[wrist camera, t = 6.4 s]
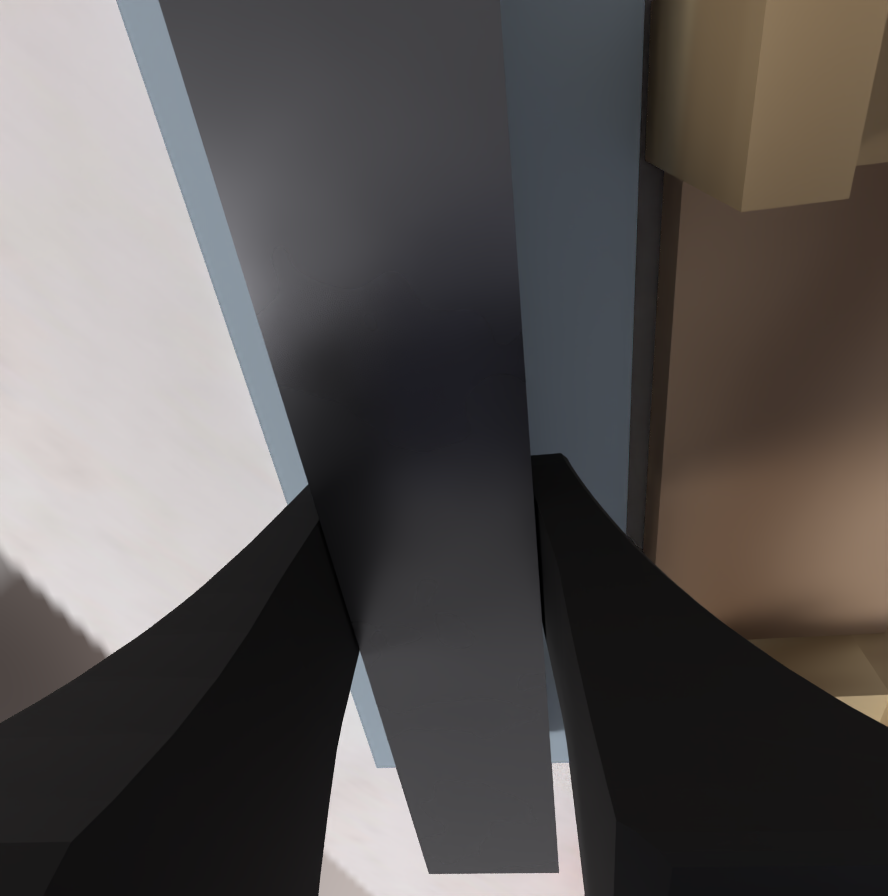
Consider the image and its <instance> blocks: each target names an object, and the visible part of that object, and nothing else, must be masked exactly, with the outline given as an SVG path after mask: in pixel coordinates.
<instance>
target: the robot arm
mask: <svg viewBox="0 0 888 896" xmlns="http://www.w3.org/2000/svg"><path fill="white" fill-rule="evenodd" d="M531 467H532V481H533V496H534V511H535V526H536V541H537V555H538V570H539V585H540V600H541V614H542V624H543V629H544V634H545V638H546V643H547V648H548V652H549V657H550V662H551V666H552V671H553V676H554V680H555V685H556V690H557V694H558V699H559V704H560V708H561V713H562V718H563V724H564V730H565V736H566V742H567V749H568V758H569V766H570V774H571V782H572V790H573V799H574V807H575V815H576V824H577V832H578V840H579V849H580V857H581V866H582V874H583V883H584V891H585V896H888V727H887V726H885V725H884V724H882V723H880V722H878V721H876V720H874V719H873V718H871V717H869V716H867V715H865V714H863V713H862V712H860V711H858V710H856V709H854V708H852V707H851V706H849V705H847V704H846V703H844V702H842V701H841V700H839V699H837V698H836V697H834V696H832V695H831V694H829V693H827V692H826V691H824V690H823V689H821V688H819V687H818V686H816V685H815V684H813V683H811V682H810V681H808V680H806V679H805V678H803V677H802V676H800V675H798V674H797V673H795V672H793V671H792V670H790V669H789V668H787V667H786V666H784V665H783V664H781V663H780V662H778V661H777V660H775V659H774V658H773V657H771V656H770V655H768V654H767V653H765V652H764V651H763V650H761V649H760V648H758V647H757V646H755V645H754V644H753V643H751V642H750V641H748V640H747V639H745V638H744V637H743V636H741V635H740V634H738V633H737V632H736V631H734V630H733V629H731V628H730V627H728V626H727V625H726V624H724V623H723V622H722V621H721V620H719V619H718V618H717V617H716V616H714V615H713V614H712V613H711V612H709V611H708V610H707V609H705V608H704V607H703V606H702V605H700V604H699V603H698V602H697V601H696V600H694V599H693V598H692V597H691V596H690V595H689V594H687V593H686V592H685V591H684V590H683V589H682V588H680V587H679V586H678V585H677V584H676V583H675V582H674V581H672V580H671V579H670V578H669V577H668V576H667V575H666V574H665V573H664V572H663V571H662V570H661V569H659V568H658V567H657V566H656V565H655V564H654V563H653V562H652V561H651V560H650V559H649V558H648V557H647V556H646V555H645V554H644V553H643V552H642V551H641V550H640V549H639V548H638V547H637V546H636V545H635V544H634V543H633V542H632V541H631V539H630V538H629V537H628V536H627V535H626V534H625V533H624V532H623V531H622V530H621V529H620V527H619V526H618V525H617V524H616V523H615V522H614V520H613V519H612V518H611V517H610V516H609V515H608V513H607V512H606V511H605V510H604V509H603V508H602V506H601V505H600V504H599V503H598V501H597V500H596V499H595V498H594V496H593V495H592V494H591V492H590V491H589V490H588V488H587V487H586V486H585V484H584V483H583V482H582V480H581V479H580V477H579V476H578V475H577V473H576V472H575V470H574V468H573V467H572V465H571V464H570V462H569V460H568V458H567V457H565V456H564V455H563V454H562V453H554V454H542V455H531ZM359 652H360V649H359V646H358V643H357V640H356V637H355V633H354V630H353V627H352V624H351V620H350V617H349V614H348V611H347V607H346V604H345V601H344V598H343V595H342V591H341V588H340V585H339V582H338V578H337V575H336V572H335V569H334V566H333V562H332V559H331V556H330V553H329V549H328V546H327V543H326V540H325V536H324V533H323V530H322V527H321V524H320V520H319V517H318V514H317V511H316V507H315V504H314V501H313V498H312V495H311V491H310V488H309V485H307V486H306V487H305V488H304V489H303V490H302V491H301V492H300V493H299V494H298V495H297V496H296V497H295V498H294V499H293V500H292V501H291V502H290V503H289V504H288V505H287V506H286V507H285V508H284V509H283V511H282V512H281V513H280V514H279V515H278V516H277V517H276V518H275V519H274V520H273V521H272V522H271V523H270V524H269V525H268V526H267V527H266V528H265V529H264V530H263V531H262V532H261V533H260V534H259V535H258V536H257V537H256V538H255V539H254V540H253V541H252V542H251V543H249V544H248V545H247V546H246V547H245V548H244V549H243V550H242V551H241V552H240V553H239V554H238V555H236V556H235V557H234V558H233V559H232V560H231V561H230V562H229V563H228V564H227V565H225V566H224V567H223V568H222V569H221V570H220V571H219V572H218V573H217V574H216V575H214V576H213V577H212V578H211V579H210V580H209V581H208V582H207V583H206V584H204V585H203V586H202V587H201V588H200V589H199V590H197V591H196V592H195V593H194V594H193V595H191V596H190V597H189V598H188V599H186V600H185V601H184V602H183V603H182V604H180V605H179V606H178V607H177V608H175V609H174V610H173V611H171V612H170V613H169V614H167V615H166V616H165V617H163V618H162V619H161V620H160V621H158V622H157V623H156V624H154V625H153V626H152V627H150V628H149V629H148V630H146V631H145V632H144V633H142V634H141V635H139V636H138V637H137V638H135V639H134V640H132V641H131V642H129V643H128V644H126V645H125V646H123V647H122V648H120V649H119V650H117V651H116V652H114V653H113V654H111V655H110V656H108V657H107V658H106V659H104V660H103V661H101V662H100V663H98V664H97V665H95V666H94V667H92V668H91V669H89V670H88V671H87V672H85V673H83V674H82V675H80V676H79V677H77V678H76V679H74V680H72V681H71V682H69V683H68V684H66V685H65V686H63V687H61V688H60V689H58V690H56V691H54V692H53V693H51V694H50V695H48V696H46V697H45V698H43V699H41V700H40V701H38V702H36V703H35V704H33V705H31V706H29V707H28V708H26V709H24V710H22V711H21V712H19V713H17V714H15V715H14V716H12V717H10V718H9V719H7V720H5V721H3V722H2V723H0V896H318V893H319V883H320V874H321V865H322V857H323V849H324V841H325V833H326V825H327V817H328V809H329V802H330V794H331V787H332V780H333V773H334V766H335V759H336V752H337V746H338V741H339V736H340V731H341V726H342V722H343V717H344V713H345V709H346V705H347V701H348V697H349V693H350V689H351V685H352V681H353V676H354V672H355V668H356V664H357V660H358V656H359Z"/></svg>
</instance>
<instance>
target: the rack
mask: <svg viewBox="0 0 888 896" xmlns="http://www.w3.org/2000/svg"><path fill="white" fill-rule="evenodd" d="M645 161H647V162H649V163H650V164H652V165H654V166H656V167H658V168H660V169H662V170H663V171H664V183H663V201H662V219H661V237H660V255H659V273H658V291H657V309H656V327H655V345H654V363H653V382H652V400H651V418H650V436H649V454H648V472H647V490H646V508H645V526H644V544H643V553H644V554H645V555H646V556H647V557H648V558H649V559H650V560H651V561H652V562H653V563H654V564H655V565H656V566H657V567H658V568H659V569H661V570H662V571H663V572H664V573H665V574H666V575H667V576H668V577H669V578H670V579H671V580H672V581H674V582H675V583H676V584H677V585H678V586H679V587H680V588H682V589H683V590H684V591H685V592H686V593H687V594H689V595H690V596H691V597H692V598H693V599H694V600H696V601H697V602H698V603H699V604H700V605H702V606H703V607H704V608H705V609H707V610H708V611H709V612H711V613H712V614H713V615H714V616H716V617H717V618H718V619H719V620H721V621H722V622H723V623H724V624H726V625H727V626H728V627H730V628H731V629H733V630H734V631H736V632H737V633H738V634H740V635H741V636H743V637H744V638H745V639H747V640H748V641H750V642H751V643H753V644H754V645H755V646H757V647H758V648H760V649H761V650H763V651H764V652H765V653H767V654H768V655H770V656H771V657H773V658H774V659H775V660H777V661H778V662H780V663H781V664H783V665H784V666H786V667H787V668H789V669H790V670H792V671H793V672H795V673H797V674H798V675H800V676H802V677H803V678H805V679H806V680H808V681H810V682H811V683H813V684H815V685H816V686H818V687H819V688H821V689H823V690H824V691H826V692H827V693H829V694H831V695H832V696H834V697H836V698H837V699H839V700H841V701H842V702H844V703H846V704H847V705H849V706H851V707H852V708H854V709H856V710H858V711H860V712H862V713H863V714H865V715H867V716H869V717H871V718H873V719H874V720H876V721H878V722H880V723H882V724H884V725H885V726H887V727H888V0H653V1H651V20H650V45H649V70H648V96H647V121H646V146H645Z"/></svg>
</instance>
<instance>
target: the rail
mask: <svg viewBox="0 0 888 896" xmlns="http://www.w3.org/2000/svg"><path fill="white" fill-rule="evenodd" d="M158 1H159V4H160V7H161V10H162V14H163V17H164V20H165V23H166V26H167V30H168V33H169V36H170V39H171V43H172V46H173V49H174V52H175V56H176V59H177V62H178V65H179V68H180V72H181V75H182V78H183V81H184V85H185V88H186V91H187V94H188V98H189V101H190V104H191V107H192V110H193V114H194V117H195V120H196V123H197V127H198V130H199V133H200V136H201V139H202V143H203V146H204V149H205V152H206V156H207V159H208V162H209V165H210V169H211V172H212V175H213V178H214V181H215V185H216V188H217V191H218V194H219V198H220V201H221V204H222V207H223V210H224V214H225V217H226V220H227V223H228V227H229V230H230V233H231V236H232V240H233V243H234V246H235V249H236V252H237V256H238V259H239V262H240V265H241V269H242V272H243V275H244V278H245V281H246V285H247V288H248V291H249V294H250V298H251V301H252V304H253V307H254V311H255V314H256V317H257V320H258V323H259V327H260V330H261V333H262V336H263V340H264V343H265V346H266V349H267V352H268V356H269V359H270V362H271V365H272V369H273V372H274V375H275V378H276V382H277V385H278V388H279V391H280V394H281V398H282V401H283V404H284V407H285V411H286V414H287V417H288V420H289V424H290V427H291V430H292V433H293V436H294V440H295V443H296V446H297V449H298V453H299V456H300V459H301V462H302V465H303V469H304V472H305V475H306V478H307V482H308V485H309V488H310V491H311V495H312V498H313V501H314V504H315V507H316V511H317V514H318V517H319V520H320V524H321V527H322V530H323V533H324V536H325V540H326V543H327V546H328V549H329V553H330V556H331V559H332V562H333V566H334V569H335V572H336V575H337V578H338V582H339V585H340V588H341V591H342V595H343V598H344V601H345V604H346V607H347V611H348V614H349V617H350V620H351V624H352V627H353V630H354V633H355V637H356V640H357V643H358V646H359V649H360V653H361V656H362V659H363V662H364V666H365V669H366V672H367V675H368V678H369V682H370V685H371V688H372V691H373V695H374V698H375V701H376V704H377V708H378V711H379V714H380V717H381V720H382V724H383V727H384V730H385V733H386V737H387V740H388V743H389V746H390V750H391V753H392V756H393V759H394V762H395V766H396V769H397V772H398V775H399V779H400V782H401V785H402V788H403V791H404V795H405V798H406V801H407V804H408V808H409V811H410V814H411V817H412V821H413V824H414V827H415V830H416V833H417V837H418V840H419V843H420V846H421V850H422V853H423V856H424V859H425V862H426V866H427V869H428V872H429V874H472V873H559V866H558V851H557V836H556V821H555V807H554V792H553V777H552V762H551V747H550V733H549V718H548V703H547V688H546V674H545V659H544V644H543V629H542V614H541V600H540V585H539V570H538V555H537V541H536V526H535V511H534V496H533V481H532V467H531V452H530V437H529V422H528V408H527V393H526V378H525V363H524V349H523V334H522V319H521V304H520V289H519V275H518V260H517V245H516V230H515V216H514V201H513V186H512V171H511V156H510V142H509V127H508V112H507V97H506V83H505V68H504V53H503V38H502V23H501V9H500V0H158Z"/></svg>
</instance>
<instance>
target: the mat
mask: <svg viewBox="0 0 888 896" xmlns="http://www.w3.org/2000/svg"><path fill="white" fill-rule="evenodd" d="M116 1H117V4H118V7H119V10H120V13H121V16H122V19H123V22H124V25H125V28H126V31H127V34H128V37H129V40H130V42H131V45H132V48H133V51H134V54H135V57H136V60H137V63H138V66H139V69H140V72H141V75H142V78H143V81H144V84H145V87H146V90H147V93H148V95H149V98H150V101H151V104H152V107H153V110H154V113H155V116H156V119H157V122H158V125H159V128H160V131H161V134H162V137H163V140H164V143H165V146H166V148H167V151H168V154H169V157H170V160H171V163H172V166H173V169H174V172H175V175H176V178H177V181H178V184H179V187H180V190H181V193H182V196H183V199H184V201H185V204H186V207H187V210H188V213H189V216H190V219H191V222H192V225H193V228H194V231H195V234H196V237H197V240H198V243H199V246H200V249H201V252H202V254H203V257H204V260H205V263H206V266H207V269H208V272H209V275H210V278H211V281H212V284H213V287H214V290H215V293H216V296H217V299H218V302H219V305H220V307H221V310H222V313H223V316H224V319H225V322H226V325H227V328H228V331H229V334H230V337H231V340H232V343H233V346H234V349H235V352H236V355H237V358H238V360H239V363H240V366H241V369H242V372H243V375H244V378H245V381H246V384H247V387H248V390H249V393H250V396H251V399H252V402H253V405H254V408H255V411H256V414H257V416H258V419H259V422H260V425H261V428H262V431H263V434H264V437H265V440H266V443H267V446H268V449H269V452H270V455H271V458H272V461H273V464H274V467H275V469H276V472H277V475H278V478H279V481H280V484H281V487H282V490H283V493H284V496H285V499H286V502H287V505H288V504H289V503H290V502H291V501H292V500H293V499H294V498H295V497H296V496H297V495H298V494H299V493H300V492H301V491H302V490H303V489H304V488H305V487H306V486H307V485H308V482H307V478H306V475H305V472H304V469H303V465H302V462H301V459H300V456H299V453H298V449H297V446H296V443H295V440H294V436H293V433H292V430H291V427H290V424H289V420H288V417H287V414H286V411H285V407H284V404H283V401H282V398H281V394H280V391H279V388H278V385H277V382H276V378H275V375H274V372H273V369H272V365H271V362H270V359H269V356H268V352H267V349H266V346H265V343H264V340H263V336H262V333H261V330H260V327H259V323H258V320H257V317H256V314H255V311H254V307H253V304H252V301H251V298H250V294H249V291H248V288H247V285H246V281H245V278H244V275H243V272H242V269H241V265H240V262H239V259H238V256H237V252H236V249H235V246H234V243H233V240H232V236H231V233H230V230H229V227H228V223H227V220H226V217H225V214H224V210H223V207H222V204H221V201H220V198H219V194H218V191H217V188H216V185H215V181H214V178H213V175H212V172H211V169H210V165H209V162H208V159H207V156H206V152H205V149H204V146H203V143H202V139H201V136H200V133H199V130H198V127H197V123H196V120H195V117H194V114H193V110H192V107H191V104H190V101H189V98H188V94H187V91H186V88H185V85H184V81H183V78H182V75H181V72H180V68H179V65H178V62H177V59H176V56H175V52H174V49H173V46H172V43H171V39H170V36H169V33H168V30H167V26H166V23H165V20H164V17H163V14H162V10H161V7H160V4H159V1H158V0H116ZM500 9H501V23H502V38H503V53H504V68H505V83H506V97H507V112H508V127H509V142H510V156H511V171H512V186H513V201H514V216H515V230H516V245H517V260H518V275H519V289H520V304H521V319H522V334H523V349H524V363H525V378H526V393H527V408H528V422H529V437H530V452H531V455H542V454H554V453H562V454H563V455H564V456H565V457H567V458H568V460H569V462H570V464H571V465H572V467H573V468H574V470H575V472H576V473H577V475H578V476H579V477H580V479H581V480H582V482H583V483H584V484H585V486H586V487H587V488H588V490H589V491H590V492H591V494H592V495H593V496H594V498H595V499H596V500H597V501H598V503H599V504H600V505H601V506H602V508H603V509H604V510H605V511H606V512H607V513H608V515H609V516H610V517H611V518H612V519H613V520H614V522H615V523H616V524H617V525H618V526H619V527H620V529H621V530H622V531H623V532H624V533H625V534H626V524H627V496H628V467H629V439H630V410H631V382H632V353H633V325H634V296H635V268H636V239H637V211H638V182H639V153H640V125H641V96H642V68H643V39H644V11H645V0H500ZM542 629H543V624H542ZM543 644H544V659H545V674H546V688H547V703H548V718H549V733H550V747H551V762H552V763H569V758H568V749H567V742H566V736H565V730H564V724H563V718H562V713H561V708H560V704H559V699H558V694H557V690H556V685H555V680H554V676H553V671H552V666H551V662H550V657H549V652H548V648H547V643H546V638H545V634H544V629H543ZM350 690H351V693H352V696H353V699H354V702H355V705H356V708H357V711H358V714H359V717H360V720H361V723H362V726H363V729H364V732H365V734H366V737H367V740H368V743H369V746H370V749H371V752H372V755H373V758H374V761H375V764H376V767H377V768H394V767H396V766H395V762H394V759H393V756H392V753H391V750H390V746H389V743H388V740H387V737H386V733H385V730H384V727H383V724H382V720H381V717H380V714H379V711H378V708H377V704H376V701H375V698H374V695H373V691H372V688H371V685H370V682H369V678H368V675H367V672H366V669H365V666H364V662H363V659H362V656H361V653H360V652H359V656H358V660H357V664H356V668H355V672H354V676H353V681H352V685H351V689H350Z"/></svg>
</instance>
